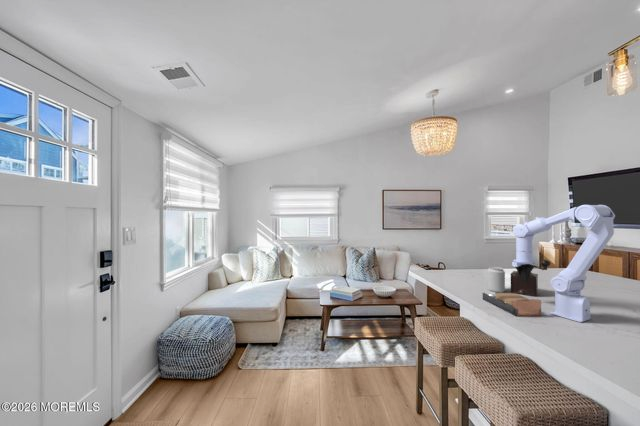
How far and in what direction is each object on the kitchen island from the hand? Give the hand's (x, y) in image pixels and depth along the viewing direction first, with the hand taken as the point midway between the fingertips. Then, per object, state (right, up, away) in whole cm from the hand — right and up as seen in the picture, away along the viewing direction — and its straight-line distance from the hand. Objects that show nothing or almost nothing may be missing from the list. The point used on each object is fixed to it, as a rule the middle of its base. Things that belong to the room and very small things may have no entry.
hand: (524, 281), depth 118 cm
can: (-1, -10, +17) cm, 20 cm away
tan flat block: (-11, -6, -8) cm, 15 cm away
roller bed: (-11, -10, -6) cm, 15 cm away
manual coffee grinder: (+13, -10, +13) cm, 20 cm away
